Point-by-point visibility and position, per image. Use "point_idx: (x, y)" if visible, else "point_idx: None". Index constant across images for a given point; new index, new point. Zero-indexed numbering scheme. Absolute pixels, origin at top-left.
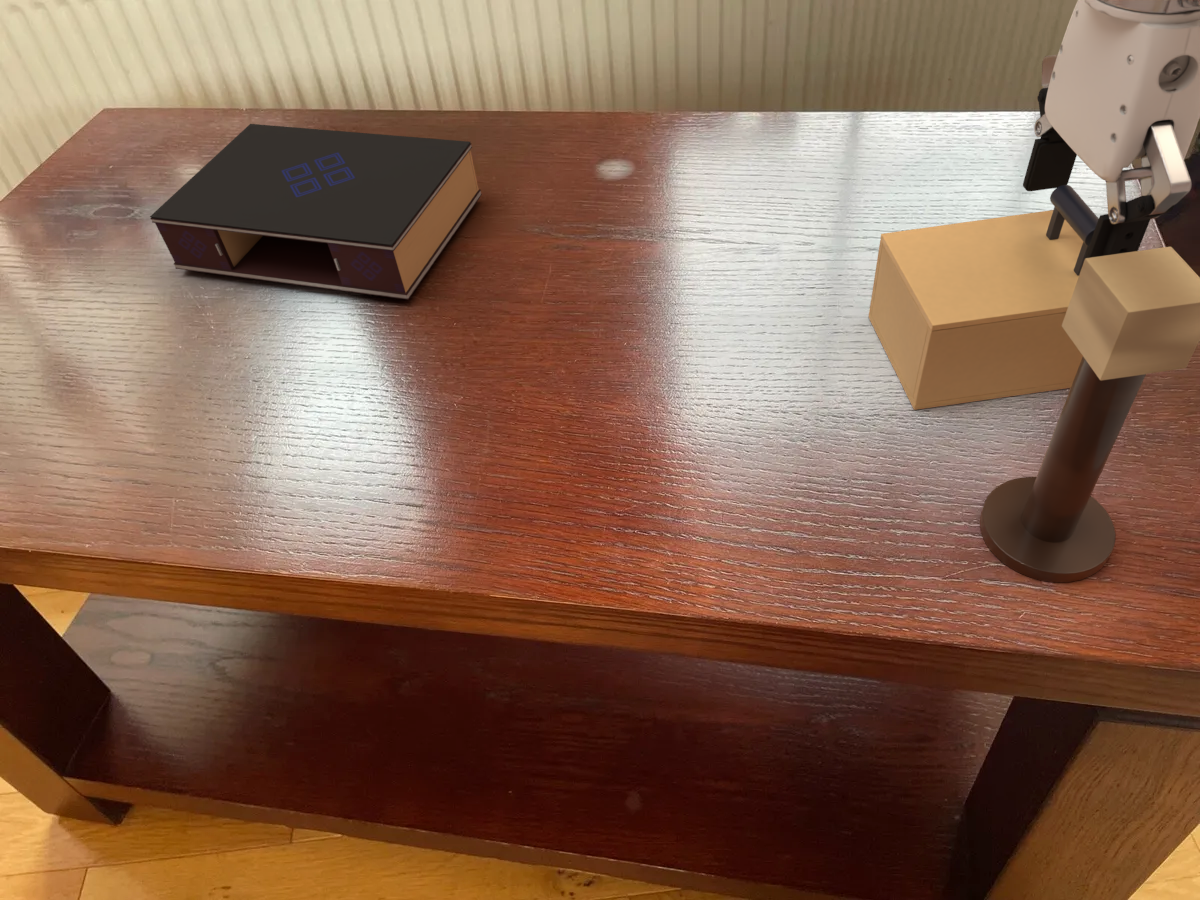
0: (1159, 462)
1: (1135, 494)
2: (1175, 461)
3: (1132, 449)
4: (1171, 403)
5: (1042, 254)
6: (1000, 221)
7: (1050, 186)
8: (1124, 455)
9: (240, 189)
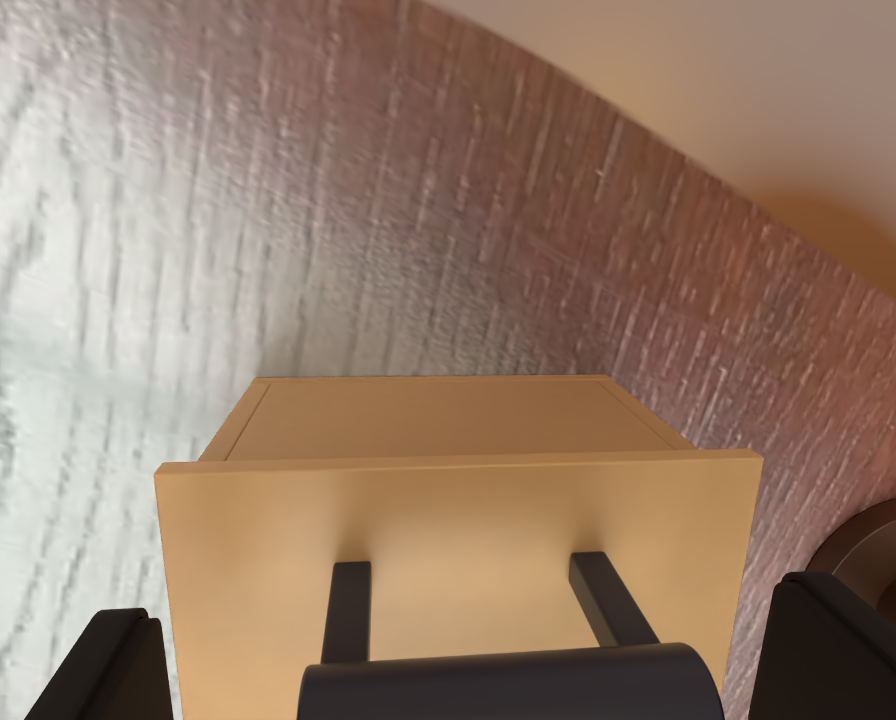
0: (840, 336)
1: (886, 416)
2: (849, 305)
3: (793, 369)
4: (709, 223)
5: (450, 639)
6: (210, 704)
7: (166, 699)
8: (801, 391)
9: None
